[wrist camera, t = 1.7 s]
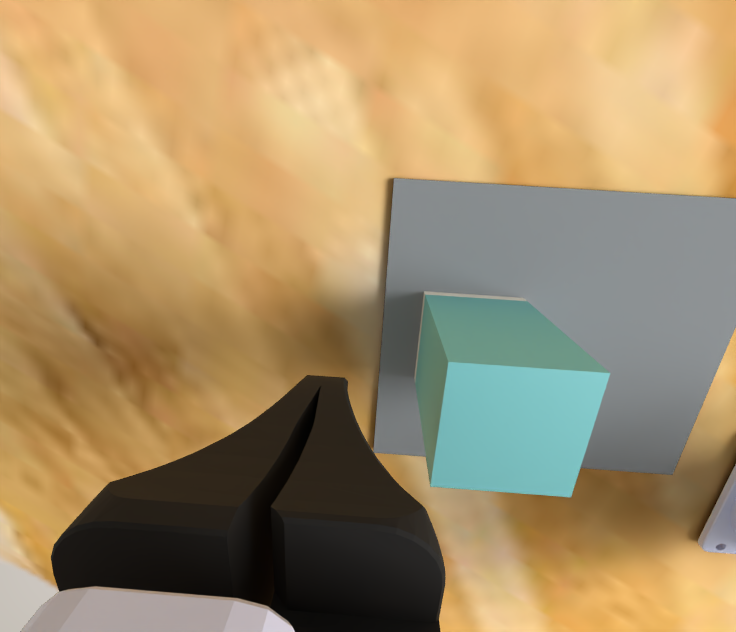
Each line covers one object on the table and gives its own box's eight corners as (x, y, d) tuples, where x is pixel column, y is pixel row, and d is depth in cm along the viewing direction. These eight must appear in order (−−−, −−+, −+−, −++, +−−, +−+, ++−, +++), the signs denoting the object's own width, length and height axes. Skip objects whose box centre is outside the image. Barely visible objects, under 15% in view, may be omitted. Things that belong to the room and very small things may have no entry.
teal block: (523, 297, 17) (610, 373, 10) (505, 384, 19) (570, 497, 12) (424, 291, 17) (448, 361, 11) (414, 378, 19) (430, 486, 12)
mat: (781, 201, 15) (789, 201, 15) (668, 470, 20) (672, 474, 20) (393, 178, 16) (394, 178, 15) (373, 448, 21) (373, 452, 20)
